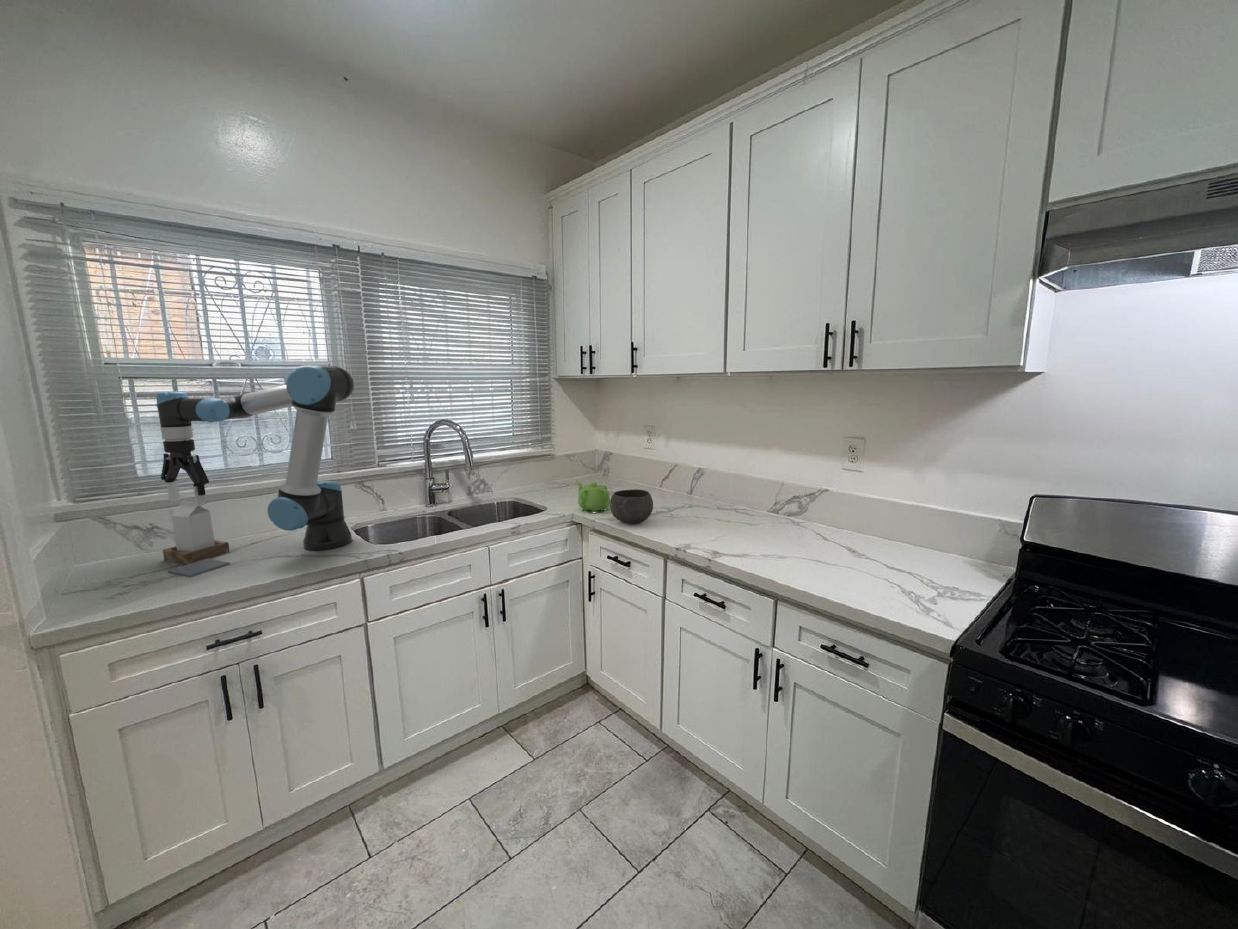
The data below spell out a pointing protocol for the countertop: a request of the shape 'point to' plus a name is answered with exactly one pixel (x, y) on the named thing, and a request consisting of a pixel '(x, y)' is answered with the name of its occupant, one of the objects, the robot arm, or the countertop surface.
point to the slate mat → (198, 567)
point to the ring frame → (196, 553)
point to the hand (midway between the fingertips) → (188, 503)
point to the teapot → (593, 497)
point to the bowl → (631, 505)
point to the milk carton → (192, 527)
